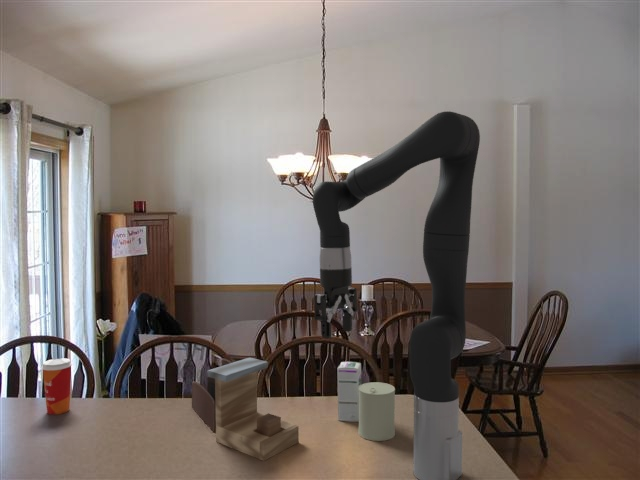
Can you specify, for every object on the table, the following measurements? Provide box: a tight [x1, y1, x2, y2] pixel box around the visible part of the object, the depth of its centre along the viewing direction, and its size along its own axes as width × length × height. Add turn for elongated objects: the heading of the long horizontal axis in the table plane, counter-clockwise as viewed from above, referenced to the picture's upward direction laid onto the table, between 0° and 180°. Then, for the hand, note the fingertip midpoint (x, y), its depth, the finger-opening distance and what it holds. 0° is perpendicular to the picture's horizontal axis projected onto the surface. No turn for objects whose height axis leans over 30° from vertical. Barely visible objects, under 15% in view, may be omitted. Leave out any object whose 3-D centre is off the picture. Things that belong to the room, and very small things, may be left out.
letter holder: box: [191, 358, 233, 434], centre depth 145 cm, size 10×20×14 cm, turn 29°
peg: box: [257, 412, 282, 437], centre depth 127 cm, size 4×4×7 cm
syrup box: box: [337, 361, 362, 423], centre depth 144 cm, size 6×6×14 cm
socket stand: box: [207, 357, 300, 462], centre depth 130 cm, size 18×14×18 cm
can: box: [357, 381, 396, 442], centre depth 134 cm, size 9×9×12 cm
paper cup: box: [41, 357, 73, 415], centre depth 149 cm, size 8×8×14 cm
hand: (337, 334), depth 128 cm, fingers open, 8 cm apart
